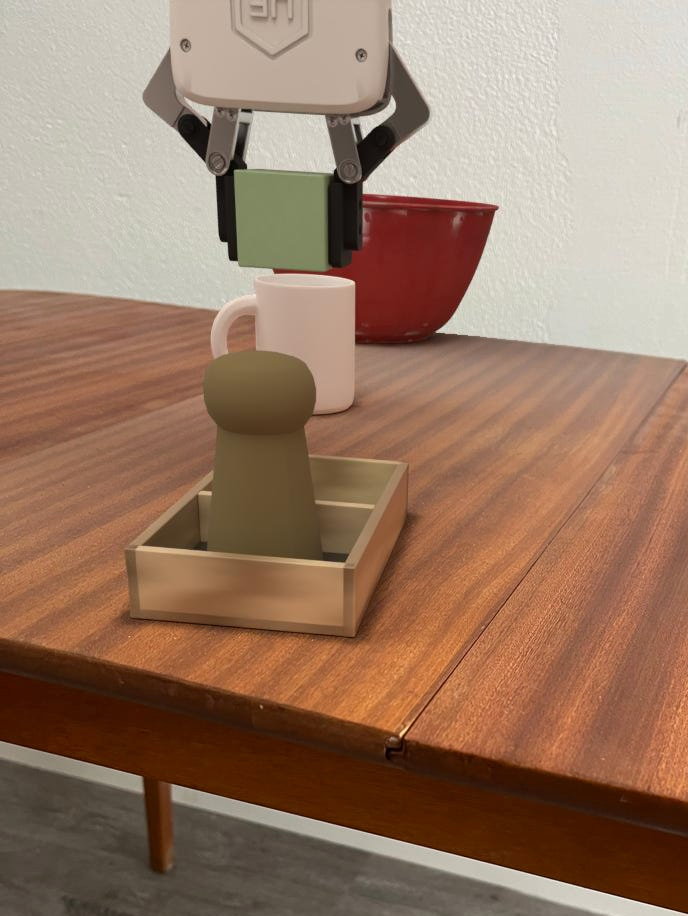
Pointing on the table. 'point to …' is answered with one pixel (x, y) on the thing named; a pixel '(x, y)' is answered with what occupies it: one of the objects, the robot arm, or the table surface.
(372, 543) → the tray
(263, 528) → the olive pawn
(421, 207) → the mixing bowl
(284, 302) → the mug
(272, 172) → the green block
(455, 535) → the table surface
